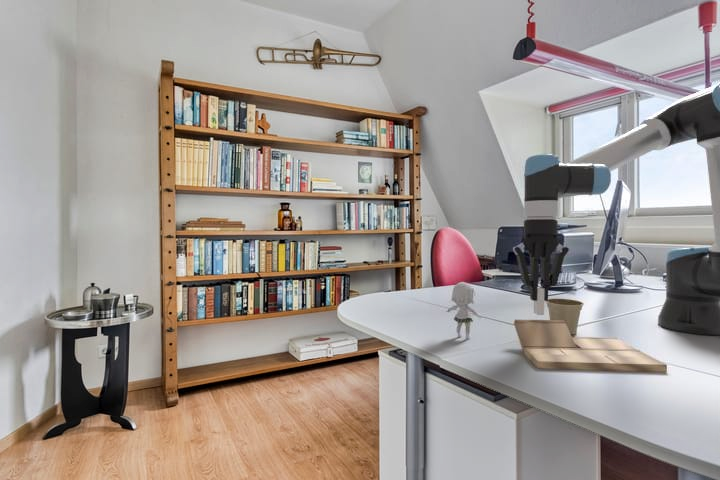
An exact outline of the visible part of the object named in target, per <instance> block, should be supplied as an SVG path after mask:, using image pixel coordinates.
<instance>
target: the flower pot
mask: <svg viewBox="0 0 720 480" xmlns="http://www.w3.org/2000/svg"><path fill="white" fill-rule="evenodd" d="M544 303H546V307H547V309H548V315H549V316H548V317H549V320H564V321H565V323H566V325H567V327H568V330H569V332H570V334H571V335H572V336H575V335H576V334H577V332H578V331H577V330H578V325H579V319H580V316H581V315H580V314H581V311H582V309H583V306H584V305H585V302H582V301H581V300H576V299H571V298H570V299H569V298H558V297H557V298H548V300H547V301H544Z"/></svg>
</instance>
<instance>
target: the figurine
mask: <svg viewBox="0 0 720 480" xmlns="http://www.w3.org/2000/svg"><path fill="white" fill-rule="evenodd" d="M474 297H476V293H475V290H474V288H473V286H472V285H471V284H470V283H467V282H464V281H461V282H460V281H459V282H458V283H456V284H455V285H454V286H453V288H452V295H451V301H450V302H453V303H454V305H452V307H449V309H448V310H446V311H445V313H450V312H451V311H455V310H457V309H458V308H459V310H458V312H457V313H456V314H455V315H454V318H453V320H454V321H455V322H457V326H456V333H457V338H458V339H459V338H462V335H461V329H462V327H463V323H464V326H465V330H464V331H465V340H470V339H471V338H470V337H469V336H470V333H471V323H473V322H474V320H473V315H472V314H474V315H475V316H476V317H478V319H482V317H481V315H479V314H478V313H477V312H476V311H475V310H474V308H472V307H471V306H470V305H471V304H472V305H474V304H475V303H474ZM471 313H472V314H471Z"/></svg>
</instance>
